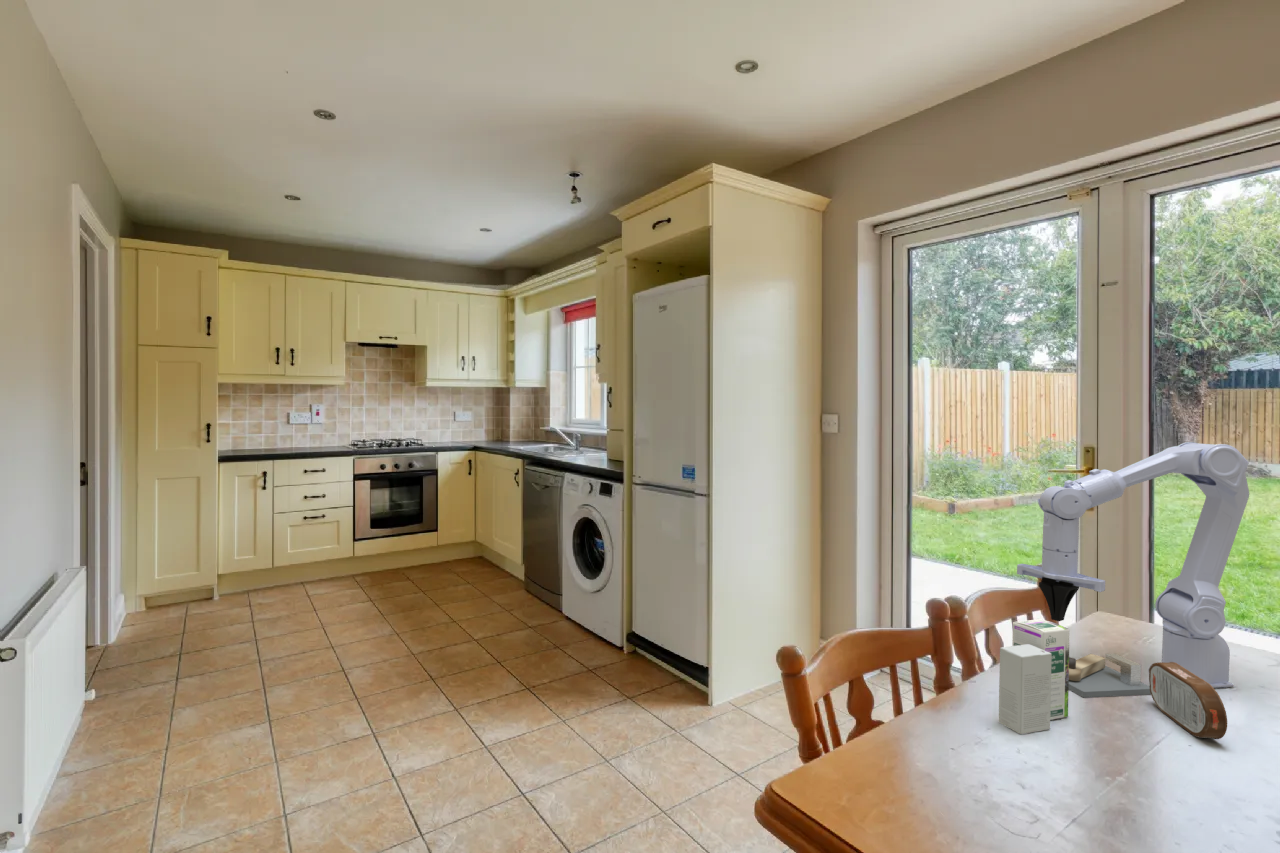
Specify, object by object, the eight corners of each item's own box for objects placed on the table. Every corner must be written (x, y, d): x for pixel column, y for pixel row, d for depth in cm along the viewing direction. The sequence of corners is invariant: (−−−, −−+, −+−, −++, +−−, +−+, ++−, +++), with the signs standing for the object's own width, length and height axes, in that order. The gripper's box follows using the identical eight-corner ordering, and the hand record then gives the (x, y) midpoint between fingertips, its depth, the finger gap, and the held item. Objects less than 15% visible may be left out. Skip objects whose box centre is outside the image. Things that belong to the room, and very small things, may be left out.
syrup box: (1042, 723, 98) (1045, 631, 98) (1009, 706, 104) (1012, 619, 104) (1068, 718, 100) (1071, 628, 100) (1034, 701, 106) (1037, 616, 105)
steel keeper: (1114, 673, 116) (1115, 653, 116) (1140, 685, 111) (1141, 664, 111) (1104, 673, 116) (1105, 653, 115) (1130, 685, 110) (1131, 665, 110)
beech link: (1076, 682, 111) (1076, 663, 111) (1057, 676, 113) (1058, 657, 113) (1106, 667, 117) (1107, 650, 117) (1088, 662, 120) (1089, 644, 120)
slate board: (1100, 668, 120) (1101, 663, 120) (1155, 694, 109) (1155, 688, 109) (1035, 671, 118) (1035, 666, 118) (1083, 697, 108) (1083, 691, 108)
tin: (1228, 750, 91) (1231, 693, 91) (1203, 747, 92) (1206, 691, 92) (1164, 703, 106) (1166, 654, 106) (1143, 701, 107) (1145, 652, 106)
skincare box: (1026, 717, 100) (1028, 643, 100) (1050, 730, 96) (1053, 653, 96) (996, 721, 98) (998, 646, 98) (1020, 735, 94) (1022, 656, 94)
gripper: (1009, 544, 124) (1007, 612, 124) (1094, 559, 111) (1091, 634, 112) (1027, 540, 127) (1025, 606, 128) (1111, 555, 115) (1108, 628, 116)
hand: (1057, 619), depth 120 cm, fingers closed
